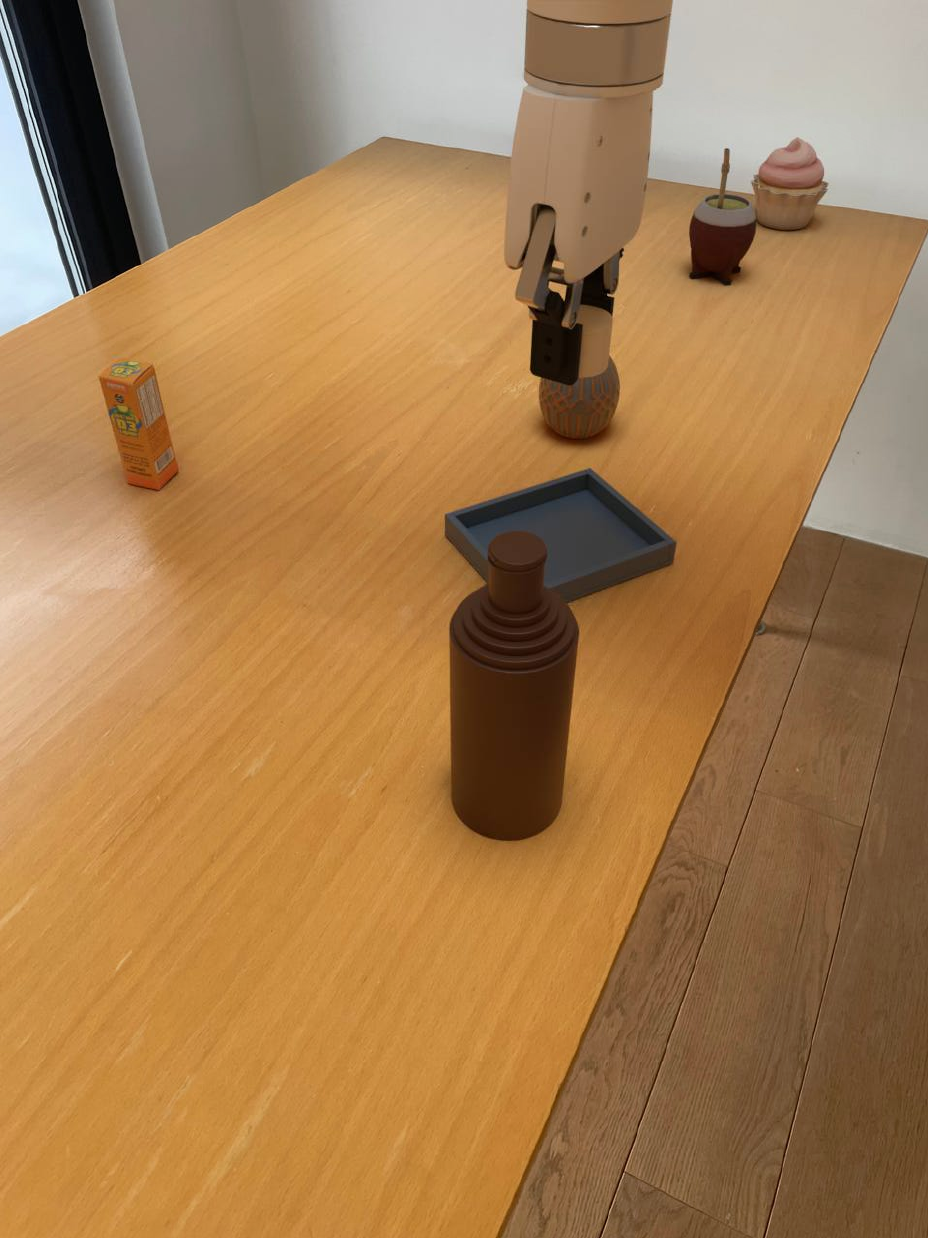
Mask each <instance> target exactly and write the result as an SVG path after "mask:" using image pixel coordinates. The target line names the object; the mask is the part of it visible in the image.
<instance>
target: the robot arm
mask: <svg viewBox="0 0 928 1238" xmlns="http://www.w3.org/2000/svg"><path fill="white" fill-rule="evenodd" d="M673 3H674V0H526V12H525V14H526V15H525V35H524V36H525V37H524V60H523V61H524V63H523V66H524V67H523V80H524V82H525V83H526V84H527V85H526V86H524V87H523V89H522V93H521V97H520V103H519V107H518V112H517V117H516V124H515V129H514V134H513V141H512V149H511V150H512V151H511V155H510V156H511V158H510V166H509V177H508V187H507V198H506V211H505V225H504V239H503V259H504V263H505V266H506V267H507V268H508V269H510V270H513V271H517V270H520V269H521V271H520V275H519V278H518V281H517V285H516V288H515V292H514V298H515V300H516V301H517V302H519V303H521V304H523V305H525V306H527V308H528V309H529V310H528V316H529V319H530V320H531V322H532V323H531V341H530V357H529V358H530V359H529V371H530V374H532V375H533V376H535V377H538V378H540V379H541V378H544V379H548V380H551V381H555V382H558V383H562V384H565V385H569V386H571V385H573V384H574V383H575V382H577V380H578V375H579V364H580V353H581V342H582V330H583V324H579V323H577V319H578V313H579V306H580V305H590V306H594V307H598V308H601V309H604V310H606V311H607V312H609V313H610V314H611V316H612V317H613V315H614V307H615V299H616V298H615V297H614V294H616V292H617V289H618V287H619V281H620V280H619V279H620V260H621V259H622V258H623V256H624V254H623V253H624V252H625V248H624V247H626V246H627V245H628V244H629V243H630V242H631V241H633V239H634V238H635V237H636V235H637V234H638V231H639V229H640V226H641V223H642V218H643V213H644V206H645V202H646V200H645V199H646V193H647V184H648V177H649V168H650V167H649V166H650V156H651V155H650V154H651V141H652V129H653V128H652V127H653V109H654V108H653V107H654V91H656V90H657V89H660V88H661V87H662V85H663V83H664V74H665V66H666V60H667V52H668V44H669V35H670V28H671V27H670V26H671V21H672V11H673ZM554 262H559V263H563V268H560V267H556V266H553V264H554ZM550 282H551V283H553V284H558V285H562V286H566V287H565V288H566V289H565V295H564V298H563V297H562V295H561V293H560V292H558V291H554V290H552V289H551V288H550V287H549V286H550Z"/></svg>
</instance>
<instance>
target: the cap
mask: <svg viewBox="0 0 928 1238" xmlns="http://www.w3.org/2000/svg"><path fill="white" fill-rule="evenodd" d="M613 322H614V319H613V316H611V314H610V313H609V312H607V311H606V310H604V309H601V308H598V307H594V306H590V305H580V306H579V313H578V319H577V323H579V324H583V330H582V342H581V353H580V364H579V375H578V378H585V377H593V376H596V375H599V374H601V373H603V372H604V371H605V370H606V369H607V367H608V360H609V355H610V351H611V350H610V349H611V341H612V340H611V339H612V331H613V324H614V323H613Z"/></svg>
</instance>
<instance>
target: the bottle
mask: <svg viewBox="0 0 928 1238" xmlns="http://www.w3.org/2000/svg"><path fill="white" fill-rule="evenodd" d="M487 556H488V562H489V583H486V584H483V586H481V587H479V588H477V589H476V590H474V591H472V592H471V593H469V594H468V595H467V596H465V598H463V599H462V600H461V601H460V603H459V604H458V606H457V608H456V609H455V611H454V612H453V614H452V615H451V617H450V621H449V627H448V635H449V636H448V637H449V638H448V641H449V643H448V644H449V712H450V713H449V720H450V721H449V723H450V724H449V725H450V730H449V731H450V792H451V793H450V795H451V804H452V807H453V809H454V811H455V813H456V815H457V816H458V818H459V819H460V821H461V822H462V823H463V824H464V825H466V827H468V828H469V829H470V830H472V831H473V832H475V833H477V834H479V835H481V836H484V837H487V838H490V839H494V840H500V841H519V840H522V839H523V840H524V839H527V838H530V837H533V836H535V835H537V834H539V833H541V832H543V831H545V829H547V828H548V827H549V826H551V824H552V823H553V822H554V821H555V819H556V818H557V816H558V815H559V812H560V811H561V807H562V803H563V795H564V794H563V793H564V784H565V775H566V765H567V757H568V746H569V738H570V737H569V736H570V727H571V717H572V716H571V715H572V707H573V696H574V688H575V687H574V686H575V679H576V678H575V677H576V668H577V659H578V658H577V657H578V647H579V639H580V627H579V623H578V620H577V618H576V616H575V615H574V612H573V610H572V608H571V607H570V605H569V604H568V603H566V602H565V601H564V600H563V599H562V598H561V597H559V596H558V595H556V594H555V593H554V592H552V591H551V590H549V589H548V588H547V587H545V586H544V571H545V563H546V560H547V556H548V554H547V549H546V546H545V543H544V542H543V540H542V539H541V538H539V537H538V536H537V535H535V534H532V533H529V532H525V531H508V532H504V533H501V534H499V535H497V536H496V537H495V538H494V539H493V540H492V541H491V542H490V543H489V546H488V554H487Z"/></svg>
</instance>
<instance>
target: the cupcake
mask: <svg viewBox="0 0 928 1238" xmlns="http://www.w3.org/2000/svg"><path fill="white" fill-rule="evenodd" d="M824 177H825V167H824V165H823V163H822V161H821V159H820V158H818V156H817V152H816V150H815V149H814V147H813V146H812V145H811V144H810V143H809V142H807V141H805V140H804V139H802V138H800V137H798V136H797V137H795V138H794V139H792V140H791V141H790V142H789V143H788V145H787V146H784V147H779V148H776V149H774V150H773V151H771V153H770V154H769V156H768V157H767V158H766V159H765V161H764V162H763V163H762V164H760V166H759V169H758V173H756V174H753V179H752V180H750V183H751V187H752V190H753V193H754V196H755V214H756V221H757V222H758V223H759V224H761V225H762V226H764V227H767V228H770V229H775V230H780V231H794V230H800V229H804V228H805V227H806V226H808V224H809V223H810V221H811V220H812V217H813V215H814V213H815V211H816V208H817V206H818V204H819V202H820V201H821V200H822V198H823V197H824V196H825V194H826V193H828V191H829V188H828V186H830V185H829V184H830V183H829V182H827V181H825V180H824Z"/></svg>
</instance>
